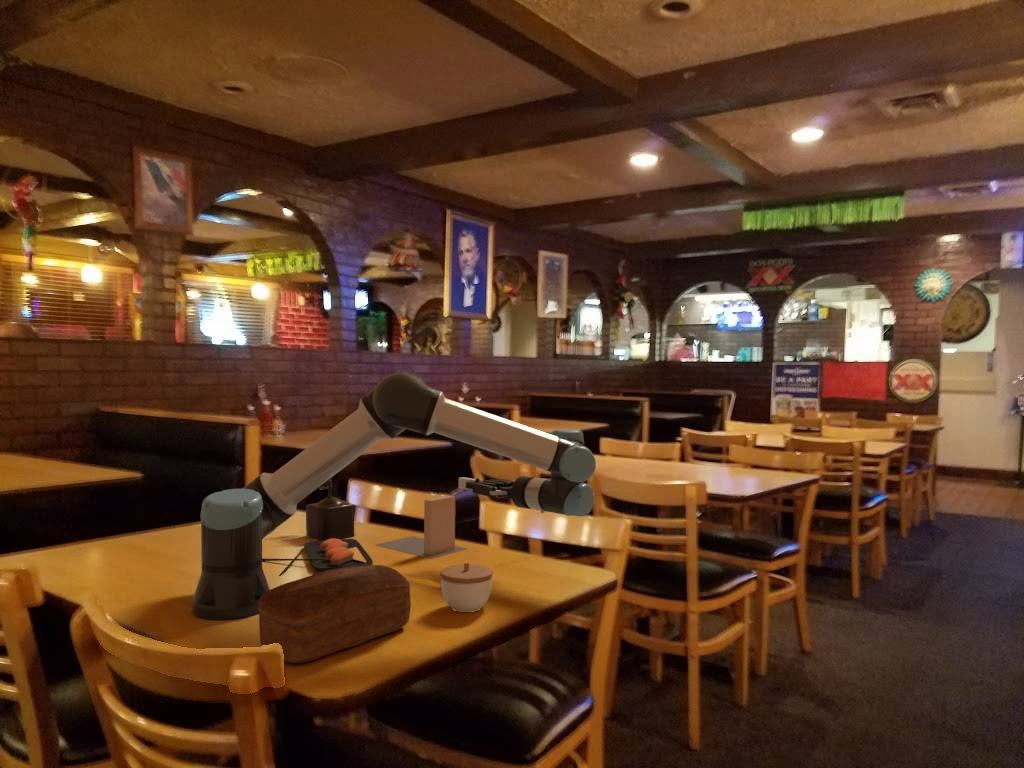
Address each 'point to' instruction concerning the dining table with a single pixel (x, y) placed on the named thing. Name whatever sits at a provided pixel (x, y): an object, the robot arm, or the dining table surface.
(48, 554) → the dining table surface
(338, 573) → the bread
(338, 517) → the pepper mill
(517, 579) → the dining table surface
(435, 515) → the tile
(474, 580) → the lidded jar
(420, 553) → the board
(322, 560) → the sushi plate
